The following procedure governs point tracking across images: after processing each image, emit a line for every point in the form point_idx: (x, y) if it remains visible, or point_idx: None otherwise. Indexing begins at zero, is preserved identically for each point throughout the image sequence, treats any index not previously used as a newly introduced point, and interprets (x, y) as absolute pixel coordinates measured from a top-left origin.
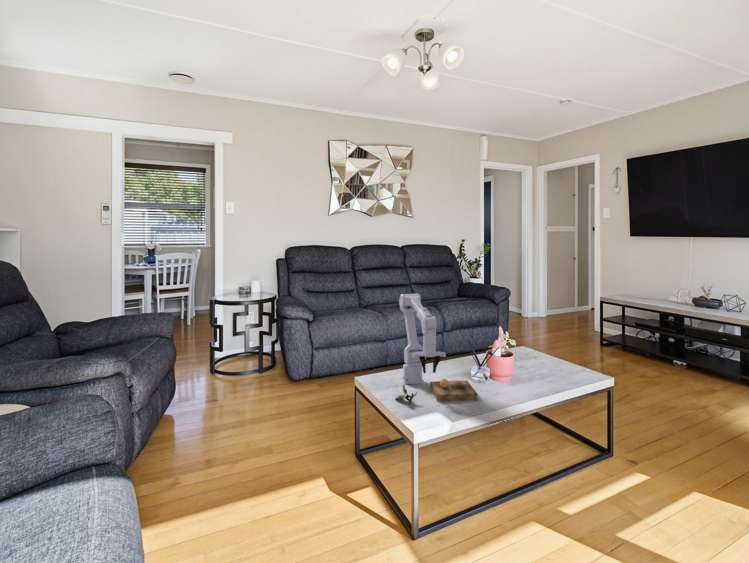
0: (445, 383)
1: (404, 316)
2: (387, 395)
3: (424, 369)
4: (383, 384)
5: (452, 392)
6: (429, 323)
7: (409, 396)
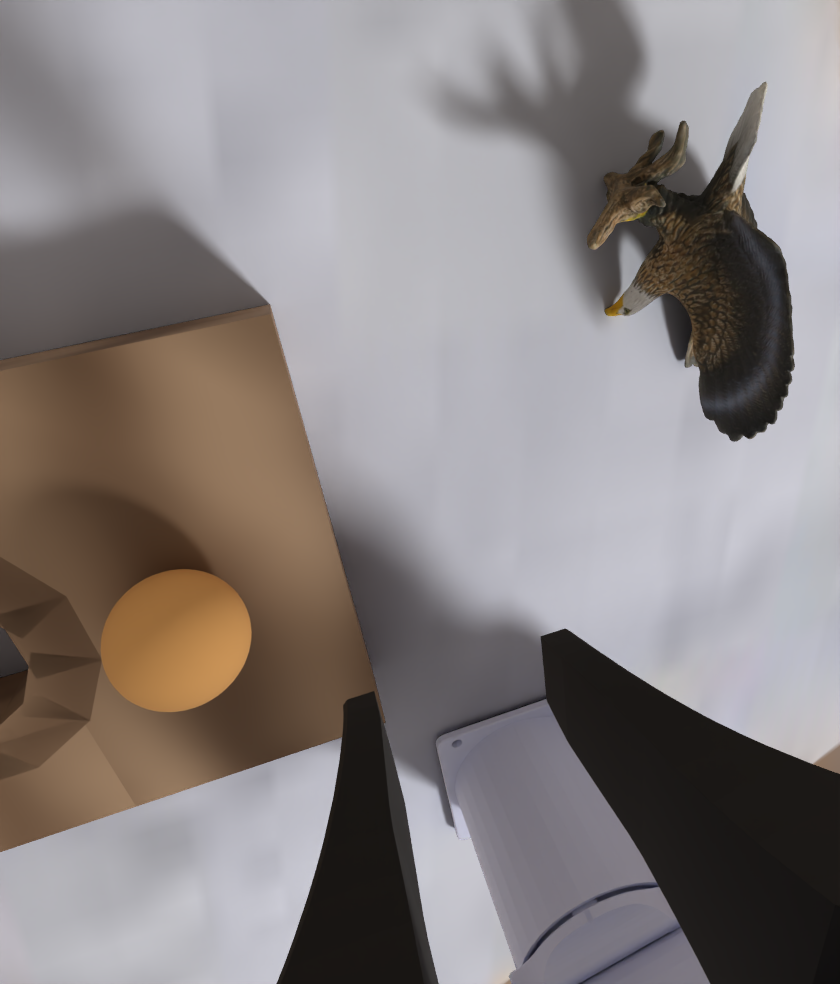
0: (145, 601)
1: None
2: (793, 394)
3: (611, 673)
4: (773, 628)
5: (20, 449)
6: None
7: (684, 149)
